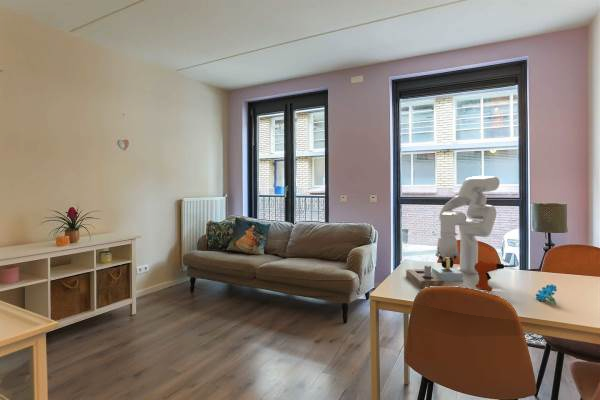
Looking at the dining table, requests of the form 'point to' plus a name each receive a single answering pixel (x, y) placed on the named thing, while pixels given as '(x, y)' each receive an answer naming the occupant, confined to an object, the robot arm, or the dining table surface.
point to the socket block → (448, 274)
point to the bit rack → (419, 280)
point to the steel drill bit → (427, 272)
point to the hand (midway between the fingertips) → (447, 267)
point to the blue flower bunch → (547, 293)
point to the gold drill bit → (447, 264)
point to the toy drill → (484, 276)
